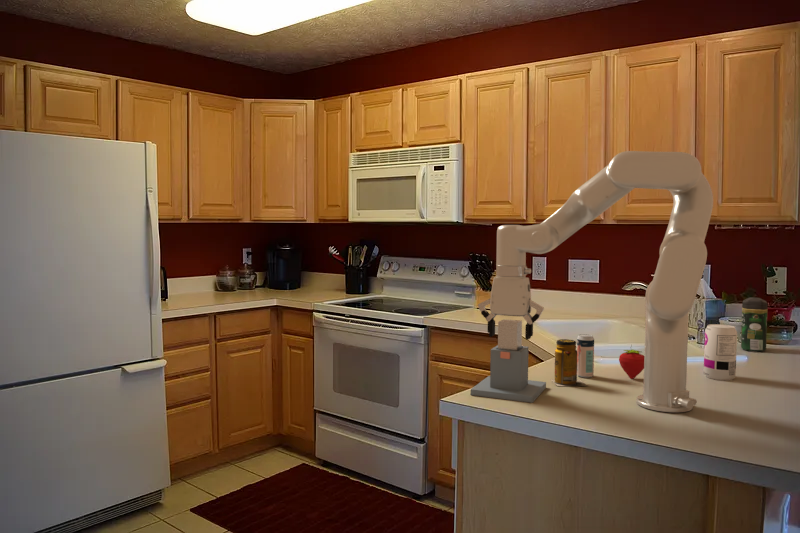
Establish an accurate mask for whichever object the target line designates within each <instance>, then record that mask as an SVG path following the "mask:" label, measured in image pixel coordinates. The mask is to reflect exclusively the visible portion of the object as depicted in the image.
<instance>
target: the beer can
mask: <svg viewBox="0 0 800 533" xmlns="http://www.w3.org/2000/svg"><path fill="white" fill-rule="evenodd" d="M576 350H577V377H579V378H583V379H589V378H592V377H594V366H595V364H594V363H595V362H594V361H595V338H594V336H593V335H592V334H582V333H581V334H578V335H577V337H576Z"/></svg>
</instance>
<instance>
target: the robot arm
mask: <svg viewBox="0 0 800 533" xmlns="http://www.w3.org/2000/svg"><path fill="white" fill-rule="evenodd" d="M635 189H646V190H647V189H648V190H649V189H650V190H652V189H653V190H667V191H669V192H670V194H671V196H672V199H673V200H672V202H673V204H672V209H671V212H670V216H669V221H668V225H667V228H666V231H665V234H664V237H663V240H662V242H661V244H660V246H659V253H658V254H659V258H658V260H657V265H656V269H655V271H654V275H653V277H652V278H653V279H652V281H651V282H649V284H648V286H647V288H646V290H645V300H644V302H645V305H644V306H645V316H644V317H645V319H644V320H645V329H644V330H645V331H644V369H643V392H642V393H643V394H640V395H638V396H637V397H636V404H637V405H638V406H640V407H642V408H644V409H647V410H651V411H656V412H657V411H658V412H663V413H685V412H689V411H691V410H693V408H694V406H695V405H697V403H698V401H697V399H696V398H692V397H690V390H687V374H688V373H687V372H688V371H687V370H688V368H687V367H688V346H689V345H688V344H689V312H690V311H691V309H692V308H693V305H694V303H695V300H696V297H697V293H698V290H699V287H700V283H701V282H702V281H701V280H702V278H703V274H704V271H705V269H706V268H705V267H706V263H707V257H708V249H707V246H706V244H705V241H706V240H705V239H706V237H707V234H708V233H707V232H708V229H709V226H710V225H709V224H710V221H711V218H712V212H713V208H714V193H713V190H712V186H711V185H710V182H709V181H708V179H707V177H706V176H705V175H704V173H703V172H702V164H701V162H700V161H699V159H698V158H697V157H696V156H695V155H693V154H691V153H689V152H683V151H648V150H647V151H646V150H645V151H642V150H641V151H640V150H626V151H621V152H619V153H617V154H616V155H614V156H613V158H612V159H611V160H610V161H609V163H608V164H607V165H606V166H605V167H603V168H602V169H601V170H600V171H598V172H597V173H596V174H594V176H592V177H591V178H589V179H588V180H587V181H585V182H584V183H583V184H581V185H580V186H579V187H578V188H577V189H575V191H573V192H572V193H571V195H570V196H569V197H568V199H567V200H566V201H565V202H564V203H563V205H562V206H561V207H560V208H558V209H557V210H556V211H555V212H554V213H552V214H551V215H550V216H548V218H546V219H545V220H543V221H542V222H541V223H537V224H532V225H522V224H521V225H520V224H502V225H500V226H498V227H497V230H496V262H495V263H496V264H495V265H496V269H495V272H496V273H495V274H496V275H495V276H494V277H493V279H492V280H493V281H492V286H491V292H490V298H488V299H486V300H484V301H482V302H480V303H478V305H477V306H478V309H479V312H481V313H480V314H481V315H482V316H483V318H485V321H486V322H487V334H488V335H489V337H493V336H495V335H496V320H495V318H496V316H503V317H504V316H505V317H522V318H523V319H524V320H525V321H526V324H525V328H524V329H525V338H524V339H525V340H530V339H531V338H532V337H533V334H534V330H533V329H534V323H535V322H536V321H538V319H539V318H540V317H541V315H542V314H543V312H544V311H545V308H544V306H542V305H540V304H539V303H537V302H535V301H533V300H532V293H531V284H530V283H531V282H530V278H529V277H526V276H527V275H528V274H531V273H532V268H528V266H527V263H526V260H527V257H526V256H527V254H526V253H530V254H535V255H536V254H537V255H542V254H547V253H549V252H551V251H553V250H555V249H556V248H558V246H560V245H561V244H562V243H563V242H565V241H566V240H567V239H569V238H570V237H572V236H573V235H574V234H576V233H577V232H578V231H579V230H580V229H582V228H583V227H584V226H586V225H587V224H590V223H591V222H593V221H594V220H595V219H597V218H598V217H599V216H601V215H602V214H603V213H604V212H606V211H607V210H609V208H611V207H612V206H613V205H615V204H616V203H618V202H619V201H620V200H621V199H623V198H624V197H625V196H627V195H628V194H629V193H631V191H633V190H635ZM488 305H489V311H490V313H489V311H488V310H487V309H486V306H488ZM532 308H533V309H534V310H536V312H535V314H534V315H533V316H532V314H531V313H532Z"/></svg>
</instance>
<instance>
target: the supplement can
mask: <svg viewBox="0 0 800 533" xmlns="http://www.w3.org/2000/svg"><path fill="white" fill-rule="evenodd" d="M703 346H704V351H703V375H704V376H705V377H706V378H708V379H710V380H715V381H732V380H734V379H735V378H736V373H737V371H736V370H737V347H738V331H737V329H736V327H735V326H734V325H728V324H722V323H721V324H720V323H719V324H716V323H711V324H707V326H706V328H705V330H704V344H703Z"/></svg>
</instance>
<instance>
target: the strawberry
mask: <svg viewBox="0 0 800 533" xmlns="http://www.w3.org/2000/svg"><path fill="white" fill-rule="evenodd" d="M630 347H632V344H631V346H630ZM623 351H624V352H623V353H621V354H620V355H619V356H618V361H619V365H620V367H621V368H622V370H623V371H624V372H625V374H626V375H627V376H628V378H629V379H631V380H632V379H633V380H634V379H635V378H637V376H638V375H640V373H641V372H643V371H644V355H643V354H641V351H640V350H636V349H623Z"/></svg>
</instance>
